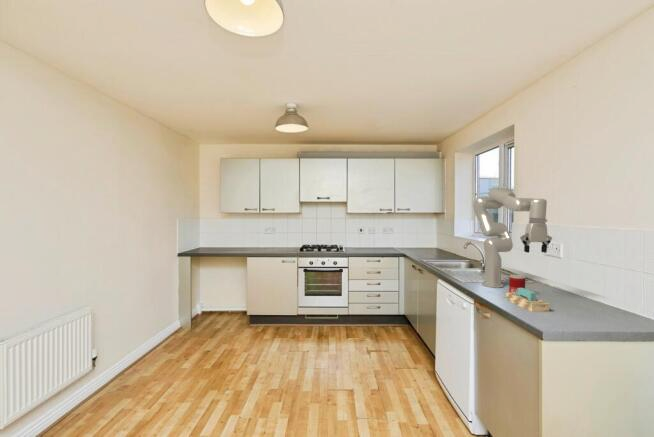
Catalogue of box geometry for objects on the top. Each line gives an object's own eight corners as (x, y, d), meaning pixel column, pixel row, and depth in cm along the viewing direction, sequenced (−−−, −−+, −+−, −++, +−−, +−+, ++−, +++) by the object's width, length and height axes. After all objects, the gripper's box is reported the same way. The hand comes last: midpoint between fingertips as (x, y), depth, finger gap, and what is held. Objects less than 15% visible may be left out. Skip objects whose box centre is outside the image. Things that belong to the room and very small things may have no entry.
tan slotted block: (505, 299, 175) (506, 292, 174) (521, 299, 175) (521, 292, 175) (531, 311, 155) (532, 303, 154) (549, 311, 155) (549, 303, 155)
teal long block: (517, 300, 170) (517, 287, 169) (522, 300, 170) (522, 287, 170) (530, 306, 160) (530, 293, 160) (535, 306, 160) (536, 292, 160)
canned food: (527, 296, 181) (527, 277, 180) (511, 295, 183) (512, 277, 182) (521, 293, 188) (522, 275, 188) (507, 292, 190) (507, 274, 190)
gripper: (547, 220, 176) (545, 251, 177) (517, 220, 175) (515, 250, 176) (557, 222, 168) (555, 253, 169) (526, 221, 168) (524, 253, 169)
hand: (535, 252), depth 173 cm, fingers open, 9 cm apart
